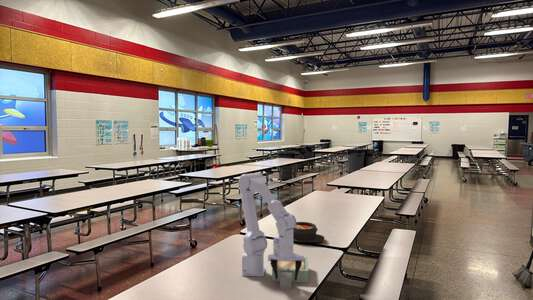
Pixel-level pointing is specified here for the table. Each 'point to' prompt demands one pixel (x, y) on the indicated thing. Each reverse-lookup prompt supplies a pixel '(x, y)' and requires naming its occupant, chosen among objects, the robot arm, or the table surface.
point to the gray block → (286, 281)
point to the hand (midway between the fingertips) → (286, 278)
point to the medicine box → (276, 245)
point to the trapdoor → (288, 265)
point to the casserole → (306, 233)
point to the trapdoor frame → (301, 275)
